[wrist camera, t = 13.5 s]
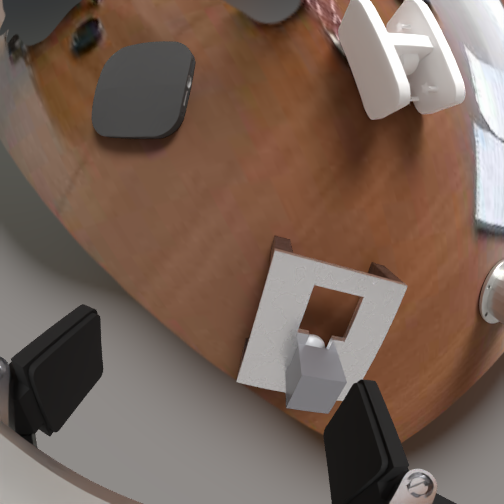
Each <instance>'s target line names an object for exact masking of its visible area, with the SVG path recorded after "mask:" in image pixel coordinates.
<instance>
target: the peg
mask: <svg viewBox="0 0 504 504" xmlns="http://www.w3.org/2000/svg"><path fill="white" fill-rule="evenodd" d="M285 382H286V408H290V409H297V410H304V411H311V412H319V413H329V412H330V410H331V409H332V407H333V405H334V404H335V402H336V400H337V399H338V397H339V395H340V394H341V392H342V390H343V388H344V387H345V385H346V383H347V381H346V377H345V374H344V371H343V368H342V365H341V362H340V358H339V355H338V352H337V351H335V350H329V349H326V348H325V344H324V341H323V340H322V339H321V338H320V337H319V336H317V335H314V334H309V337H308V340H307V342H306V345H304V344H299V343H298V345H297V347H296V350H295V352H294V355H293V357H292V360H291V362H290V365H289V367H288V369H287V372H286V374H285Z"/></svg>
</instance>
